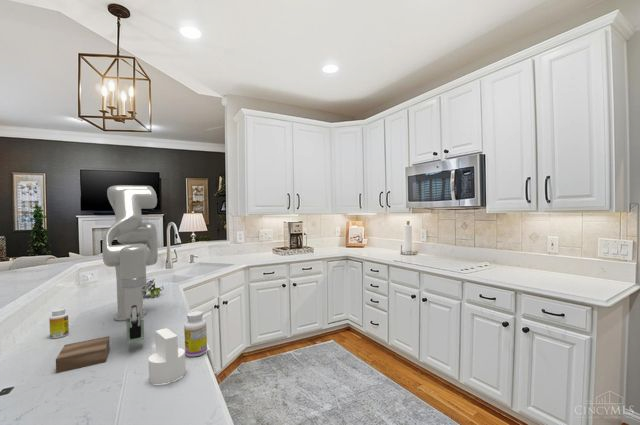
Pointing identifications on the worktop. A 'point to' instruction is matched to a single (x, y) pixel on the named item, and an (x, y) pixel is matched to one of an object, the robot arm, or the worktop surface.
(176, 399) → the worktop surface
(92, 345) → the walnut base
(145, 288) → the passion flower
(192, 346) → the supplement bottle
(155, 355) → the base with upright slab
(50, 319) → the supplement bottle
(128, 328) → the sage block
